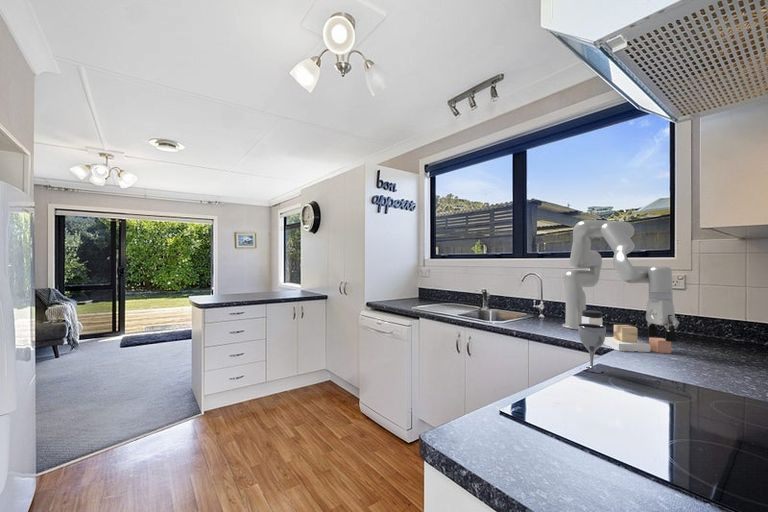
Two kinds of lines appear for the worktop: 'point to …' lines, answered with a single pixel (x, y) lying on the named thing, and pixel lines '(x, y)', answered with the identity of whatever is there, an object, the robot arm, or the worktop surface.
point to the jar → (591, 317)
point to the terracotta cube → (660, 345)
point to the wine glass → (592, 338)
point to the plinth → (627, 345)
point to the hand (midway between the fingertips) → (661, 338)
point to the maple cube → (625, 333)
